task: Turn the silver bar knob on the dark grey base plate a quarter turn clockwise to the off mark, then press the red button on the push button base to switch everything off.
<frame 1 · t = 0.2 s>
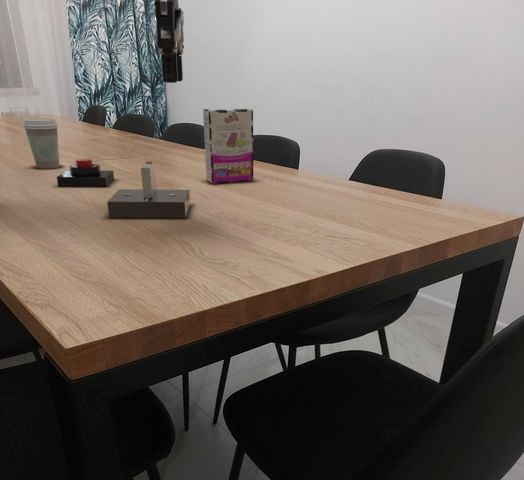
hand: (173, 81, 80), 22 cm above the table, tool pointing down, fingers open, 8 cm apart
push button base: (87, 183, 120), on the table
candy bar box: (229, 181, 125), on the table
power button: (84, 163, 118), point 4 cm above the table, slide at 0.1 cm
coffee cup: (48, 167, 138), on the table
dark grey base plate: (151, 211, 97), on the table
hob knob: (148, 179, 95), point 6 cm above the table, hinge at 90.0°
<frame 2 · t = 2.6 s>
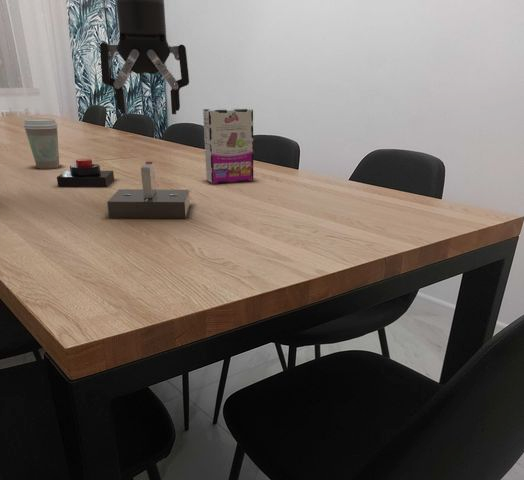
hand: (149, 113, 87), 17 cm above the table, tool pointing down, fingers open, 8 cm apart
nothing on the table moved.
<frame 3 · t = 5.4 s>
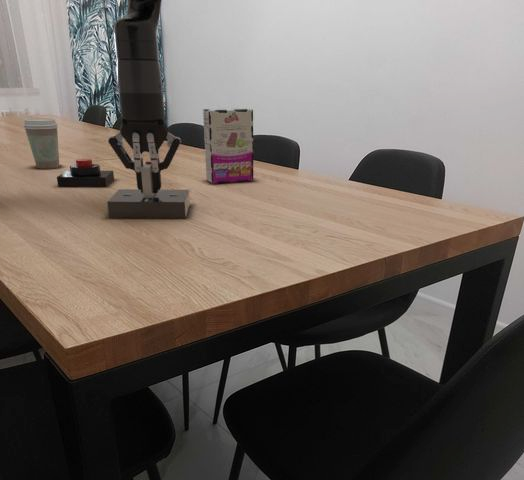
hand: (149, 191, 96), 4 cm above the table, tool pointing down, fingers closed on hob knob
hob knob: (148, 179, 95), point 6 cm above the table, hinge at 89.5°, touching gripper
everything else where it was.
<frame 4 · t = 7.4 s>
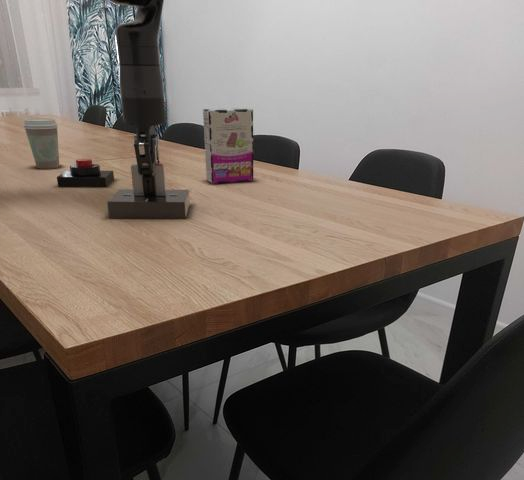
hand: (151, 193, 97), 3 cm above the table, tool pointing down, fingers open, 4 cm apart
hob knob: (148, 179, 95), point 6 cm above the table, hinge at 0.3°
everything else where it was.
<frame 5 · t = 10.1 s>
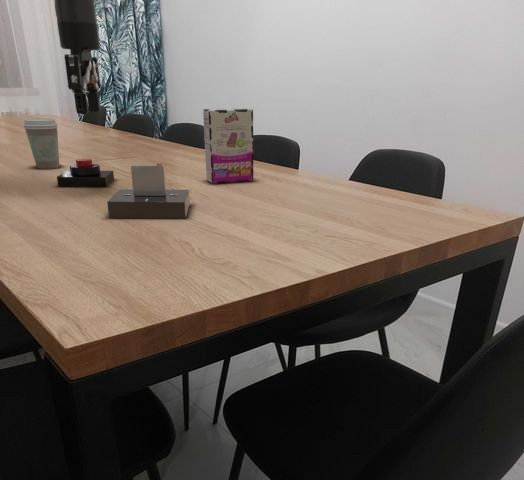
hand: (88, 112, 106), 16 cm above the table, tool pointing down, fingers open, 8 cm apart
nothing on the table moved.
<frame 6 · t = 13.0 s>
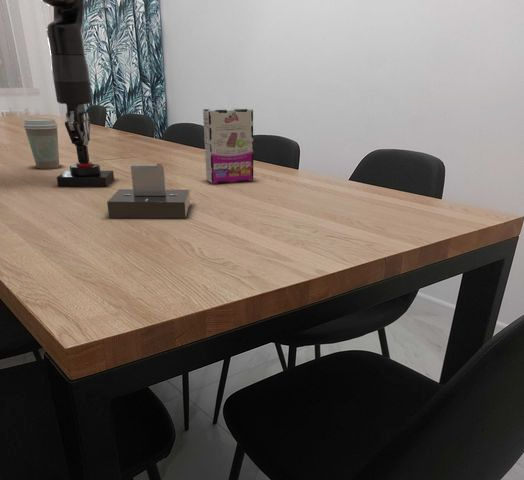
hand: (84, 162, 118), 5 cm above the table, tool pointing down, fingers closed
power button: (84, 166, 118), point 4 cm above the table, slide at -0.6 cm, touching gripper
everything else where it was.
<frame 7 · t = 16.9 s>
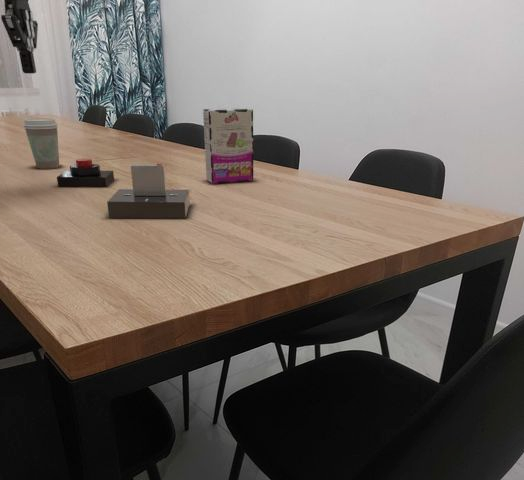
hand: (29, 73, 101), 23 cm above the table, tool pointing down, fingers closed
power button: (84, 163, 118), point 4 cm above the table, slide at 0.1 cm
everything else where it was.
at the end: hob knob at +0° (first picture: +90°); power button pushed in 1.1 cm at the most during the clip, back to where it started at the end; power button slide at 0.1 cm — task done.
